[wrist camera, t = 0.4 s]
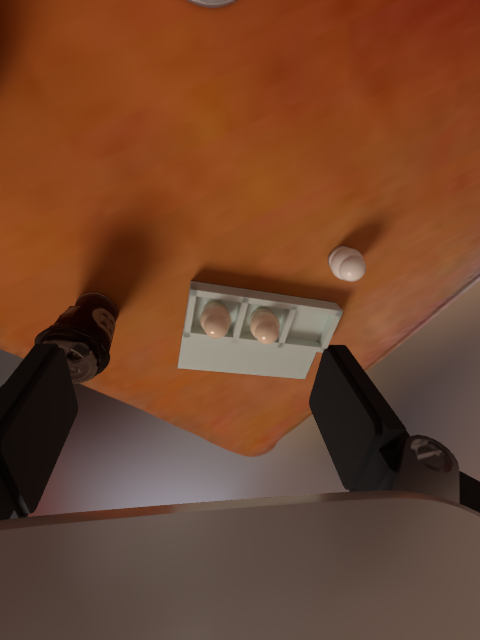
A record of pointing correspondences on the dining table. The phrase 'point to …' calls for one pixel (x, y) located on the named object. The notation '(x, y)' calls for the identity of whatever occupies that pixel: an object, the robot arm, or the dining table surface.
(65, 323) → the coffee cup
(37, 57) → the dining table surface
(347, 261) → the white egg shape
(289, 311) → the egg carton
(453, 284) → the dining table surface
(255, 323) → the brown egg middle
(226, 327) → the brown egg end
